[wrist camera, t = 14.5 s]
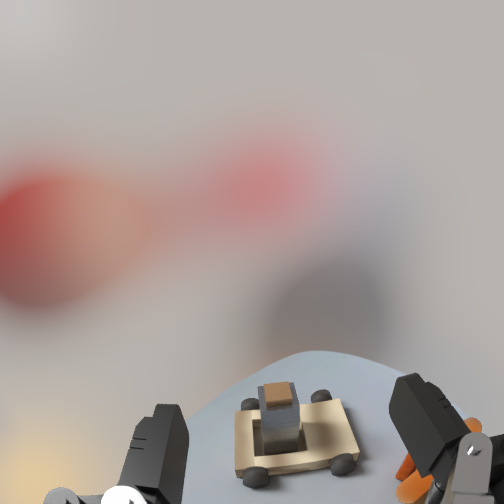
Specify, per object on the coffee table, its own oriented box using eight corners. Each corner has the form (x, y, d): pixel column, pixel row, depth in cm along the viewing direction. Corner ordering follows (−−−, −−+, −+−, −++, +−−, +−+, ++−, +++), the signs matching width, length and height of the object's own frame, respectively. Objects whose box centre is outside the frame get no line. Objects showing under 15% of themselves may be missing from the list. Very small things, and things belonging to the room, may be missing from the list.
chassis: (334, 400, 42) (336, 387, 41) (360, 470, 28) (365, 459, 27) (236, 412, 42) (234, 399, 41) (237, 488, 27) (234, 478, 26)
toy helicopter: (455, 465, 23) (498, 398, 19) (388, 592, 8) (445, 575, 5) (407, 452, 28) (438, 385, 24) (325, 572, 14) (350, 552, 10)
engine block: (292, 428, 37) (293, 376, 33) (297, 451, 32) (300, 401, 29) (262, 432, 36) (256, 380, 33) (264, 455, 32) (259, 406, 29)
